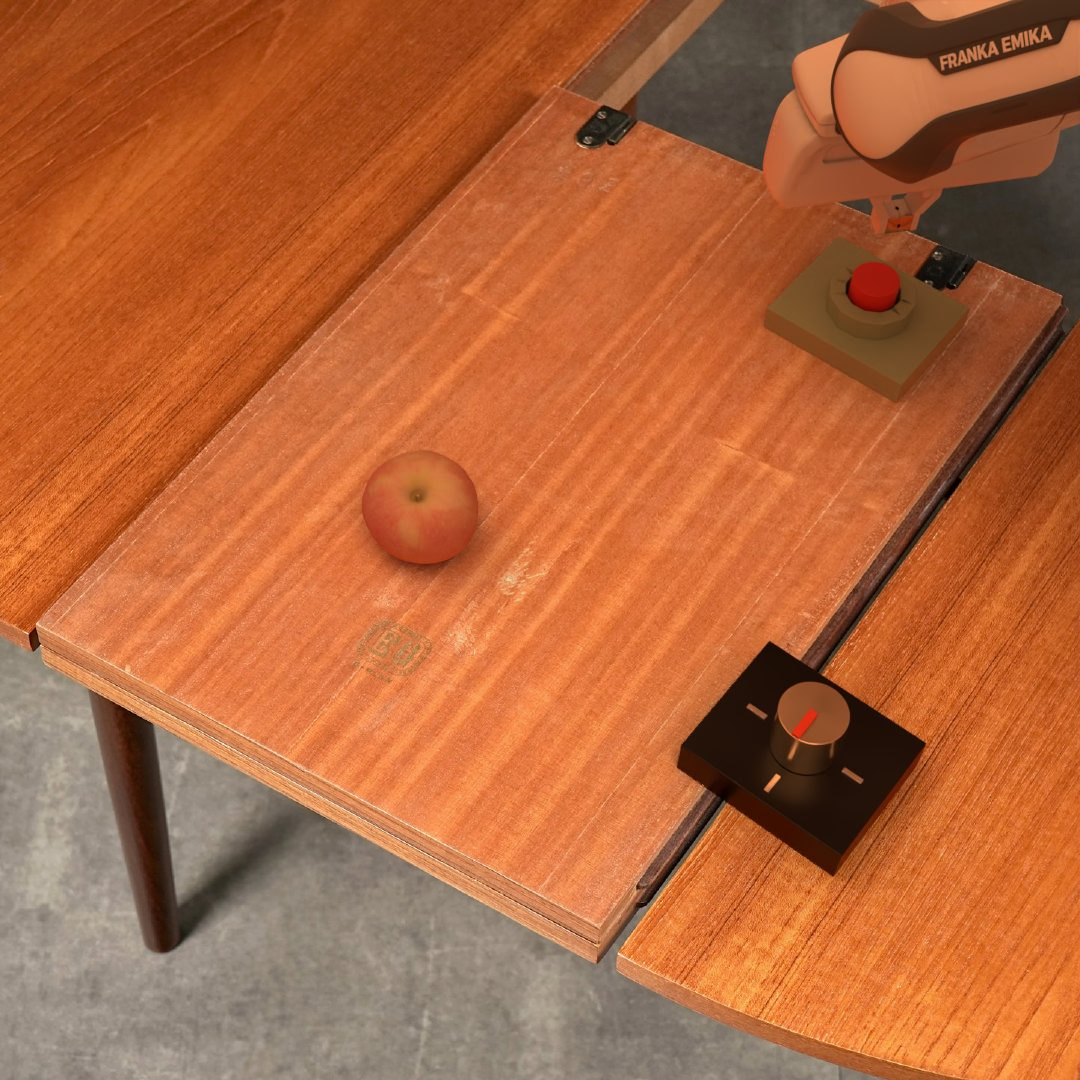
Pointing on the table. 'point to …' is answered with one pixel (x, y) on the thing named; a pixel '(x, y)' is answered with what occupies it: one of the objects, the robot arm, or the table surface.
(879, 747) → the panel
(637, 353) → the table surface
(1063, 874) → the table surface
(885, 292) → the button
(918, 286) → the button block
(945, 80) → the robot arm
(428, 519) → the apple
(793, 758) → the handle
